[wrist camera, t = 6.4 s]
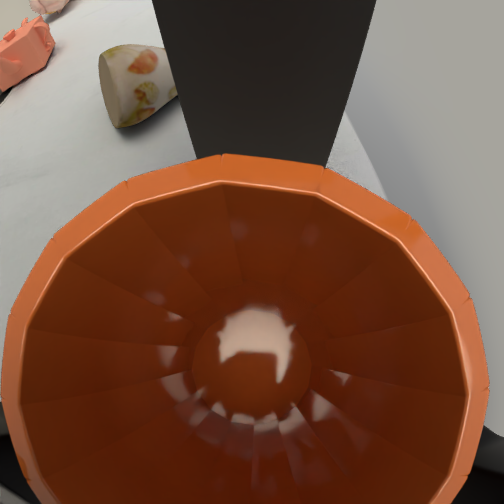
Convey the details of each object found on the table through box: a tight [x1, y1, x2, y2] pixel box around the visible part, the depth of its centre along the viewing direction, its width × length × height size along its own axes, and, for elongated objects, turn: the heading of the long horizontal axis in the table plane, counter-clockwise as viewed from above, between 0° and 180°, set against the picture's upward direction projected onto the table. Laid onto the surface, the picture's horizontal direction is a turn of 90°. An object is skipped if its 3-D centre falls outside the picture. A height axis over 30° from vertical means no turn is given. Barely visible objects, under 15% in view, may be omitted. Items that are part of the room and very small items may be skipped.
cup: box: [0, 153, 490, 504], centre depth 9 cm, size 7×7×13 cm
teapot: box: [0, 15, 55, 92], centre depth 24 cm, size 12×15×8 cm
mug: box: [99, 44, 178, 128], centre depth 20 cm, size 8×10×10 cm
